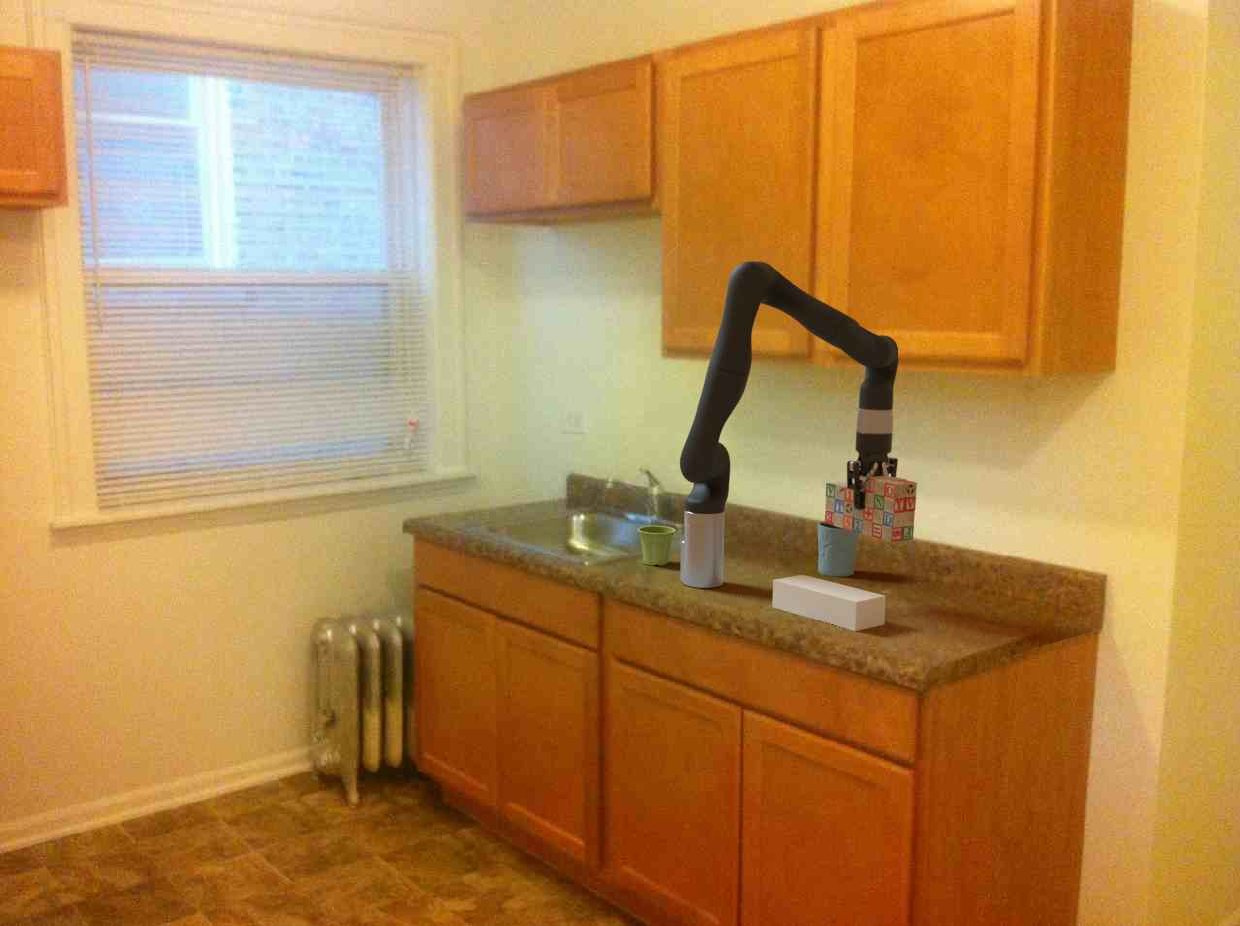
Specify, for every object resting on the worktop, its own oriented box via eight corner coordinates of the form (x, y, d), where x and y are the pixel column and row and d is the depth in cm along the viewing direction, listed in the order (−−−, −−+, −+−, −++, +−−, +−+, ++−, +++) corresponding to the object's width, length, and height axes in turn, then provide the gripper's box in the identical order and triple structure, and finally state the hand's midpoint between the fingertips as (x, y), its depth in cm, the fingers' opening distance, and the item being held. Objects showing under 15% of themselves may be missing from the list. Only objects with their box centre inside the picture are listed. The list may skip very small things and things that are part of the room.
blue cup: (826, 566, 292) (828, 519, 291) (864, 572, 287) (866, 523, 285) (808, 573, 284) (810, 524, 283) (847, 579, 278) (849, 530, 277)
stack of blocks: (823, 523, 259) (826, 468, 257) (845, 521, 262) (848, 467, 260) (891, 542, 241) (895, 483, 239) (914, 539, 244) (917, 481, 242)
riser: (772, 607, 251) (773, 579, 251) (801, 601, 257) (802, 574, 256) (855, 631, 234) (856, 602, 233) (884, 624, 239) (885, 595, 238)
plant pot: (682, 563, 293) (682, 529, 292) (658, 569, 286) (659, 534, 285) (653, 557, 299) (653, 524, 298) (629, 563, 292) (630, 529, 291)
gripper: (882, 426, 255) (878, 502, 257) (838, 430, 246) (834, 508, 249) (910, 430, 249) (905, 507, 252) (865, 433, 240) (861, 513, 243)
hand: (870, 507), depth 250 cm, fingers closed on stack of blocks, 6 cm apart
